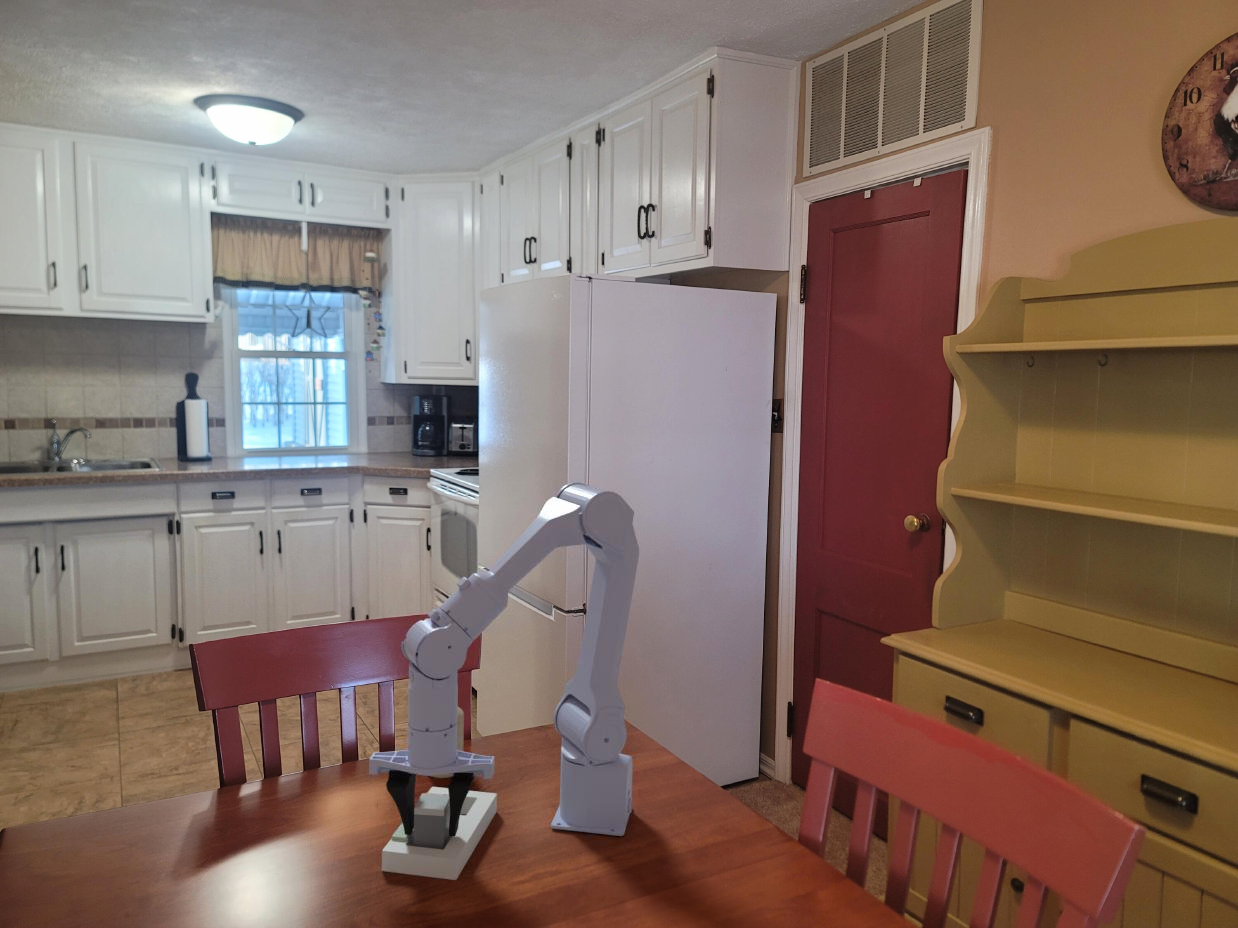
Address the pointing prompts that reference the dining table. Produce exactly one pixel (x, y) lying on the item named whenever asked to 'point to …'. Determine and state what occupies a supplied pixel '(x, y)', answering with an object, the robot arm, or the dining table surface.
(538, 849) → the dining table surface
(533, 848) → the dining table surface
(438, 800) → the plug
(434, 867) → the socket strip
